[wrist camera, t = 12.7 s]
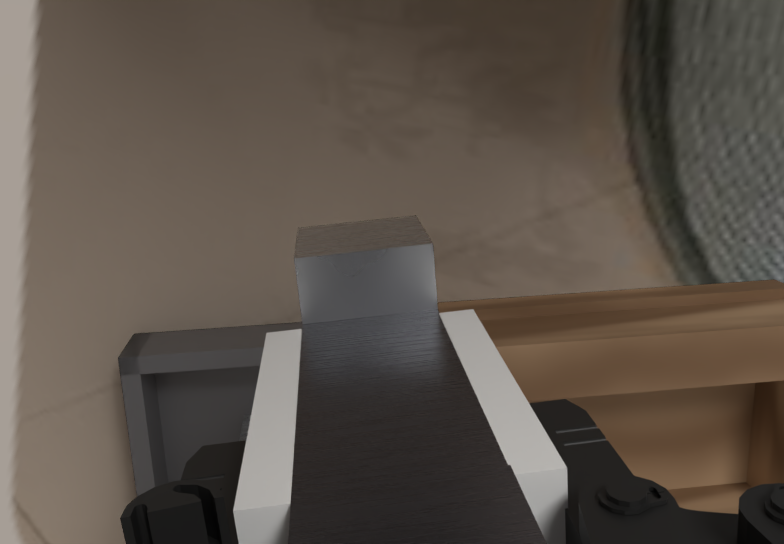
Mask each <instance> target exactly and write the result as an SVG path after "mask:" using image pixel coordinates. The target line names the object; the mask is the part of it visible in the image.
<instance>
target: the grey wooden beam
mask: <svg viewBox="0 0 784 544" xmlns="http://www.w3.org/2000/svg"><path fill="white" fill-rule="evenodd" d="M294 262H295V270H296V277H297V285H298V293H299V300H300V308H301V316H302V323H303V326H302V341H301V356H300V371H299V386H298V401H297V416H296V431H295V446H294V461H293V476H292V491H291V506H290V521H289V536H288V544H547V543H546V541H545V539H544V536H543V534H542V532H541V530H540V528H539V526H538V524H537V521H536V519H535V517H534V515H533V513H532V511H531V508H530V506H529V504H528V502H527V500H526V498H525V496H524V493H523V491H522V489H521V487H520V485H519V483H518V480H517V478H516V476H515V474H514V472H513V470H512V467H511V465H508V464H507V462H506V460H505V457H504V455H503V453H502V451H501V449H500V447H499V444H498V442H497V440H496V438H495V436H494V433H493V431H492V429H491V427H490V425H489V422H488V420H487V418H486V416H485V414H484V412H483V409H482V407H481V405H480V403H479V401H478V398H477V396H476V394H475V392H474V390H473V388H472V385H471V383H470V381H469V379H468V377H467V374H466V372H465V370H464V368H463V366H462V364H461V361H460V359H459V357H458V355H457V353H456V350H455V348H454V346H453V344H452V342H451V339H450V337H449V335H448V333H447V331H446V329H445V326H444V324H443V322H442V320H441V318H440V315H439V313H440V312H439V310H438V304H437V290H436V277H435V263H434V250H433V243H432V241H431V239H430V238H429V236H428V234H427V233H426V231H425V229H424V228H423V226H422V224H421V223H420V221H419V219H418V218H417V216H416V215H415V216H405V217H396V218H386V219H377V220H367V221H358V222H349V223H339V224H330V225H320V226H311V227H301V228H298V232H297V240H296V248H295V255H294Z"/></svg>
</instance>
